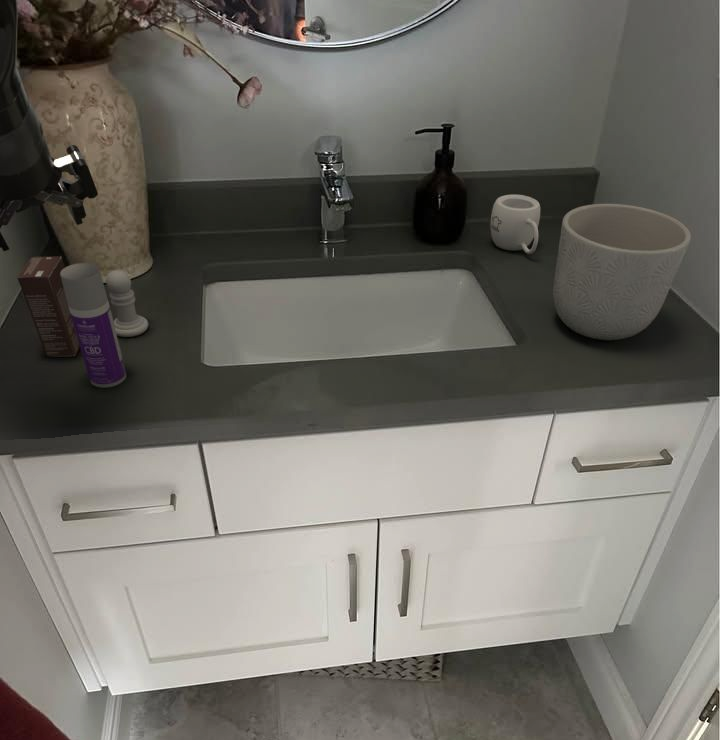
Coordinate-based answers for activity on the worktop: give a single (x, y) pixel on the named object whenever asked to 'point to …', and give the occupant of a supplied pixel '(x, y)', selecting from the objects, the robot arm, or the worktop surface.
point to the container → (93, 324)
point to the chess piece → (124, 305)
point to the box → (49, 305)
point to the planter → (615, 268)
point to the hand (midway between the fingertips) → (40, 230)
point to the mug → (515, 222)
